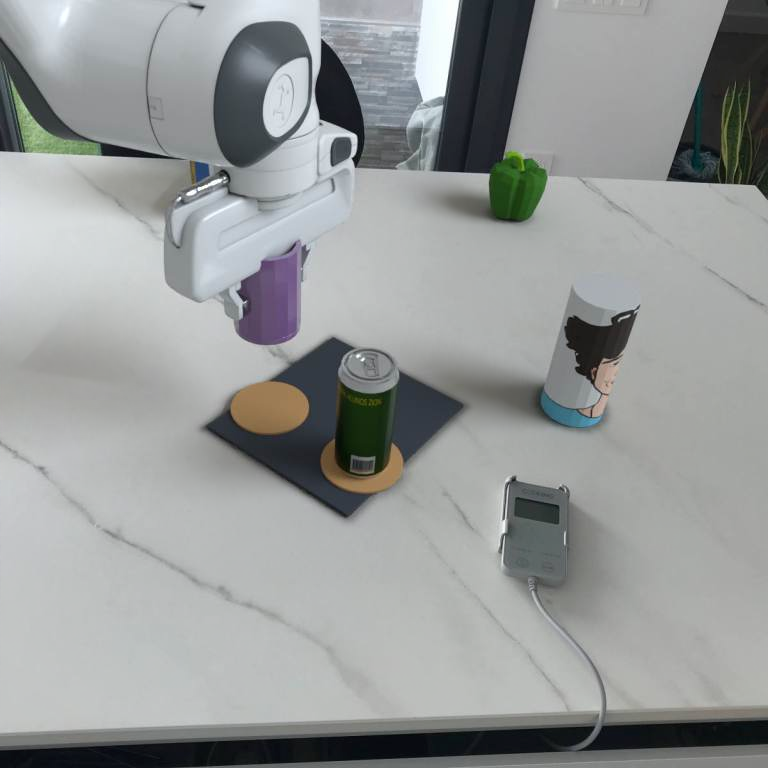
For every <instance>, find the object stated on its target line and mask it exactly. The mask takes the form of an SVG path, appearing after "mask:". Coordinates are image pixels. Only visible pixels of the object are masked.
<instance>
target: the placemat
mask: <svg viewBox="0 0 768 768" xmlns="http://www.w3.org/2000/svg"><path fill="white" fill-rule="evenodd" d="M354 349H357V348H356V347H354V346H352V345H350V344H348V343H346V342H344V341H342V340H340V339H338V338H336V337H334V336H332V337H331V338H329V339H328V340H326V341H325V342H323V343H322V344H321V345H319V346H317V348H315V349H314V350H312V351H311V352H309V353H308V354H306V355H305V356H304V357H303V358H300V359H299V360H298V361H297V362H295V363H294V364H292V365H291V366H289V367H288V368H287V369H285V370H284V371H282V372H281V373H280V374H278V375H277V376H275V377H274V378H272V379H271V380H269V381H261V382H255V383H253V384H250V385H248V386H245V387H243V388H242V389H240V390H239V391H238V392H237V393H236V394H235V396H234V397H233V398H232V400H231V403H230V409H228V410H227V411H225V412H224V413H222V414H221V415H219V416H218V417H216V419H213V421H212V422H209V423H208V424H206V428H207V430H210V431H211V432H212V433H214V434H216V435H217V436H218V437H219V438H222V439H223V440H225V441H226V442H228V443H229V444H231V445H233V446H234V447H236V448H237V449H239V450H240V451H242V452H243V453H245V454H247V455H248V456H250V457H252V458H253V459H255V460H256V461H258V462H260V463H261V464H262V465H264V466H265V467H267V468H269V469H270V470H271V471H274V472H275V473H277V474H278V475H280V476H281V477H282V478H284V479H286V480H288V481H289V482H291V483H292V484H294V485H295V486H297V487H299V489H302V490H303V491H305V492H307V493H308V494H310V495H311V496H313V497H314V498H317V500H319V501H320V502H322V503H323V504H326V505H327V506H328V507H329V508H332V509H333V510H335V511H336V512H338V513H339V514H341V515H343V516H344V517H346V518H349V517H350V516H351V515H352V514H353V513H354V512H355V511H357V509H358V508H359V507H360V506H361V505H362V504H364V503H365V502H366V501H367V500H368V499H369V498H370V497H371V496H372V495H373V494H375V493H380V492H382V491H385V490H387V489H389V488H390V487H392V486H393V485H395V483H397V482H398V480H400V477H401V476H402V473H403V471H404V470H403V469H404V465H405V463H406V462H407V461H408V460H410V459H411V458H412V456H414V455H415V454H416V453H417V452H418V451H419V450H420V449H421V448H423V446H424V445H425V444H426V443H428V441H429V440H430V439H432V438H433V437H434V435H436V434H437V433H438V432H439V431H440V430H441V429H442V428H443V427H444V426H445V425H446V424H447V423H448V422H449V421H450V420H451V419H453V417H454V416H455V415H457V413H458V412H459V411H461V410H462V408H464V406H465V405H464V403H462V402H460V401H458V400H456V399H454V398H452V397H450V396H448V395H447V394H444V393H443V392H441V391H439V390H437V389H435V388H433V387H431V386H429V385H428V384H425V383H423V382H422V381H419V380H418V379H416V378H413V377H412V376H410V375H408V374H406V373H404V372H402V371H400V370H398V371H399V385H398V394H397V402H396V411H395V420H394V428H393V437H392V446H391V454H390V461H389V463H388V466H387V467H386V468H385V470H384V471H383V472H382V473H381V474H380V475H378V476H376V477H374V478H371V479H366V480H365V479H355V478H351V477H349V476H347V475H346V474H344V473H343V472H342V471H341V470H340V469H339V467H338V465H337V464H336V461H335V459H334V451H335V431H336V410H337V390H338V370H339V367H340V366H341V362H342V359H343V357H344V355H346V354H347V353H348V352H349V351H352V350H354Z"/></svg>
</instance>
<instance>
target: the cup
mask: <svg viewBox="0 0 768 768" xmlns="http://www.w3.org/2000/svg"><path fill="white" fill-rule="evenodd" d="M643 298H644V297H643V293H642V291H641V290H640V288H638V286H637V285H635V283H634V282H631V281H630V280H629V279H626V278H624V277H622V276H619V275H617V274H613V273H609V272H603V271H591V272H586V273H585V272H584V273H581V274H580V275H578V276H577V277H575V278H574V280H573V282H572V284H571V288H570V292H569V295H568V298H567V302H566V306H565V309H564V314H563V317H562V321H561V324H560V328H559V331H558V335H557V339H556V342H555V346H554V350H553V354H552V357H551V361H550V365H549V368H548V371H547V376H546V379H545V381H544V386H543V390H542V393H541V398H540V405H541V408H542V410H543V411H544V414H546V415H547V416H548V417H549V418H550V419H552V420H553V421H555V422H556V423H559V424H561V425H564V426H567V427H572V428H588V427H590V426H594V425H596V424H597V423H598V422H599V421H600V420H601V418H602V416H603V413H604V410H605V407H606V406H607V405H606V404H607V402H608V399H609V396H610V393H611V391H612V387H613V384H614V382H615V379H616V376H617V373H618V370H619V368H620V366H621V365H620V364H621V362H622V359H623V356H624V353H625V350H626V347H627V344H628V343H629V338H630V335H631V334H632V330H633V328H634V324H635V322H636V319H637V316H638V313H639V310H640V307H641V304H642V301H643Z"/></svg>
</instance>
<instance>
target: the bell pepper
mask: <svg viewBox="0 0 768 768" xmlns="http://www.w3.org/2000/svg"><path fill="white" fill-rule="evenodd" d="M504 155H505V158H503V159H502V160H501V162H496V163H494V164H493V166H492V167H491V169H490V170H489V171H490V172H489V178H488V193H489V194H488V195H489V196H488V197H489V205H490V208H491V211H492V213H493V215H494V216H496V217H497V218H499V219H503V220H504V219H505V220H510V219H512V220H515V221H518V222H523V221H526V220H527V221H528V220H529V219H530V218H531V217H532V216H533V214H534V213H535V211H536V209H537V207H538V205H539V204H540V202H541V199H542V197H543V195H544V193H545V191H546V187H547V183H548V171H547V169H545V168H543V167H539V164H538V163H537V161H535V159H534V158H533V157H530V158H524V157H523V155H522V154H520V152H518V151H514V150H513V151H512V150H509V151H506V152H504Z"/></svg>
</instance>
